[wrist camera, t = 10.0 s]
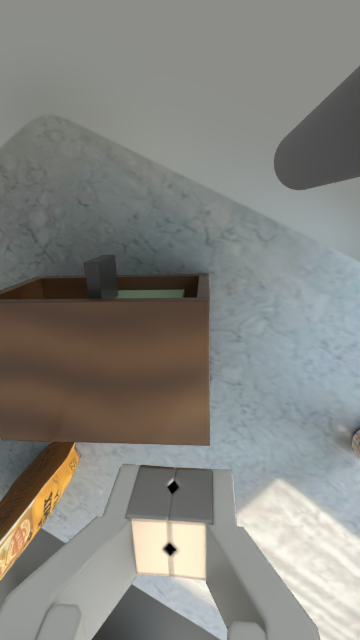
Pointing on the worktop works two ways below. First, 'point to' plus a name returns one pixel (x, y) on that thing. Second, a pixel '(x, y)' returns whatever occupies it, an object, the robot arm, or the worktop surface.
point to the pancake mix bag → (34, 499)
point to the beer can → (356, 443)
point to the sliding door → (105, 282)
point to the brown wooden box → (105, 362)
